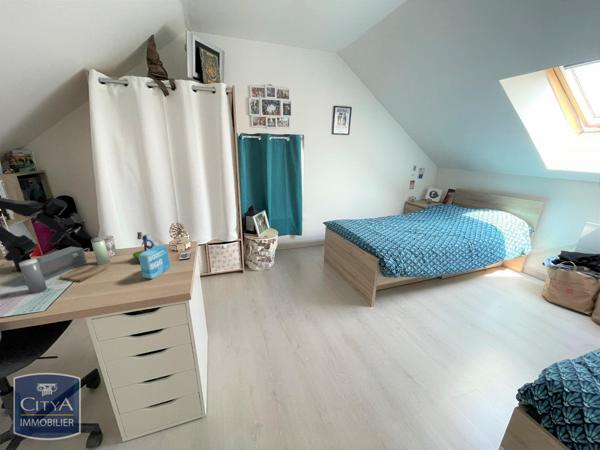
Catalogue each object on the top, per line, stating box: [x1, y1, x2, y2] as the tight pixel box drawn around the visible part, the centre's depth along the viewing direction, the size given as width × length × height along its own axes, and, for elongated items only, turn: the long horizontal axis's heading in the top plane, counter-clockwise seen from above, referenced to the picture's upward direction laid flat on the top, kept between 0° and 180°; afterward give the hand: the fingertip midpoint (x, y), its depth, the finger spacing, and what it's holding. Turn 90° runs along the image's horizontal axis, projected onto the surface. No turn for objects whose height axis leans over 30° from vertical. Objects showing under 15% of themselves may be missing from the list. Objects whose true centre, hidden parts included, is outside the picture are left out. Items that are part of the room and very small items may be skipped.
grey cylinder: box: [19, 258, 48, 295], centre depth 99 cm, size 5×5×13 cm
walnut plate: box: [58, 264, 108, 283], centre depth 114 cm, size 12×12×1 cm
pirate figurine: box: [132, 231, 155, 260], centre depth 128 cm, size 14×13×15 cm
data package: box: [138, 245, 171, 280], centre depth 114 cm, size 12×4×12 cm, turn 167°
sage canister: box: [90, 236, 110, 266], centre depth 123 cm, size 5×5×13 cm
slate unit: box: [35, 246, 88, 282], centre depth 115 cm, size 9×20×8 cm, turn 167°
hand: (86, 242), depth 120 cm, fingers open, 9 cm apart
